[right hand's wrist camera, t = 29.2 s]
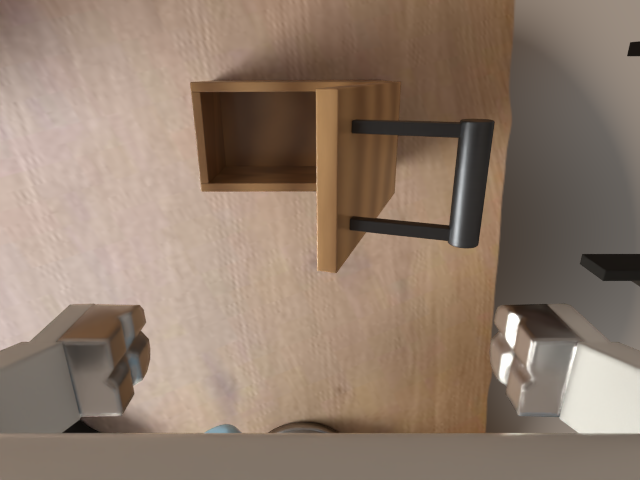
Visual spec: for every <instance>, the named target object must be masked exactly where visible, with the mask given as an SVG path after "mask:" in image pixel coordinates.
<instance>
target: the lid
mask: <svg viewBox="0 0 640 480" xmlns="http://www.w3.org/2000/svg"><path fill="white" fill-rule="evenodd" d="M400 90H401V82H378V83H368V84H357V85H347V86H337V87H326V88H317V89H316V183H317V270H318V271H323V272H330V273H337V272H338V270H339V269H340V268H341V266H342V265H343V263H344V262H345V261H346V259H347V258H348V257H349V255H350V254H351V252H352V251H353V250H354V248H355V247H356V245H357V244H358V243H359V241H360V240H361V239H362V237H363V236H364V234H365V233H366V232H371V233H380V234H389V235H398V236H408V237H417V238H426V239H435V240H444V241H448V243H449V244H450V245H452V246H455V247H459V248H474V247H476V246H478V242H479V235H480V227H481V220H482V212H483V205H484V197H485V190H486V182H487V175H488V167H489V160H490V152H491V144H492V137H493V129H494V121H493V120H488V119H462V120H461V121H460V122H432V121H399V107H400ZM398 135H403V136H429V137H454V138H459V139H458V148H457V158H456V167H455V177H454V186H453V195H452V205H451V214H450V224H449V225H439V224H429V223H419V222H408V221H398V220H388V219H378V218H377V216H378V215H379V214H380V212H381V211H382V210H383V208H384V207H385V205H386V204H387V203H388V201H389V200H390V199H391V197H392V196H393V194H394V193H395V176H396V159H397V141H398Z"/></svg>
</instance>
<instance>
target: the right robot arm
mask: <svg viewBox="0 0 640 480" xmlns="http://www.w3.org/2000/svg"><path fill="white" fill-rule="evenodd" d="M145 323H146V319H145V314H144V310H143V308H142V307H141V306H140V305H114V304H73V305H69V306H68V307H67V308H66V309H65V310H64V311H63V312H62V313H60V314H59V315H58V316H57V317H56V318H55V319H54V320H53V321H52V322H51V323H50V324H48V325H47V326H46V327H45V328H44V329H43V330H42V331H41V332H40V333H39V334H37V335H36V336H35V337H34V338H33V339H32V340H31V341H30V342H21V343H18V344H16V345H13V346H11V347H8V348H6V349H4V350H1V351H0V480H640V351H639V350H636V349H634V348H631V347H629V346H627V345H624V344H622V343H619V342H610V341H609V340H608V339H607V338H606V337H605V336H604V335H603V334H601V333H600V332H599V331H598V330H597V329H596V328H595V327H594V326H593V325H592V324H591V323H589V322H588V321H587V320H586V319H585V318H584V317H583V316H582V315H581V314H580V313H579V312H577V311H576V310H575V309H574V308H573V307H572V306H571V305H568V304H530V305H502V306H499V307H498V308H497V311H496V313H495V319H494V323H495V325H496V326H497V328H498V329H499V332H498V333H497V334H496V335H495V336H494V337H493V338H492V339H491V345H490V362H491V366H492V370H493V373H494V374H495V376H496V378H497V380H498V381H500V382H501V383H503V384H505V385H506V386H507V389H506V395H507V397H508V399H509V401H510V402H511V404H512V406H513V407H514V409H515V411H516V412H517V414H518V416H542V417H560V420H562V421H563V422H564V423H566V424H567V425H569V426H570V427H571V428H572V429H574V430H575V431H576V432H578V433H62V432H64V431H65V430H66V429H68V428H69V427H70V426H72V425H73V424H74V423H76V422H77V421H78V420H80V417H98V416H122V414H123V412H124V411H125V409H126V407H127V406H128V404H129V402H130V401H131V399H132V397H133V395H134V389H133V386H134V385H135V384H137V383H139V382H140V381H142V380H143V378H144V376H145V374H146V372H147V370H148V366H149V361H150V344H149V339H148V338H147V337H146V336H145V335H144V334H143V333H142V332H141V329H142V328H143V326H144V325H145Z"/></svg>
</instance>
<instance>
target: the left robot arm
mask: <svg viewBox="0 0 640 480" xmlns="http://www.w3.org/2000/svg"><path fill="white" fill-rule="evenodd" d="M627 56H640V42H631V43H630V46H629V50H628V55H627ZM580 264H581V265H582V266H584V267H585V268H586V269H588V270H589V271H590V272H592V273H593V274H594V275H596V276H597V277H599V278H600V279H601V280H603V281H632V282H634V283H636V284H637V285H639V286H640V254H582V258H581V262H580ZM205 433H241V432H240V431H239V430H238V429H237V428H236V427H234V426H232V425H228V424H225V425H220V426H216V427H214V428H212V429H210V430H208V431H207V432H205ZM269 433H339V432H337V431H336V430H334V429H332V428H330V427H327V426H324V425H321V424H317V423H310V422H298V423H291V424H286V425H283V426H280V427H278V428H276V429H274V430H272V431H270V432H269Z"/></svg>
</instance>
